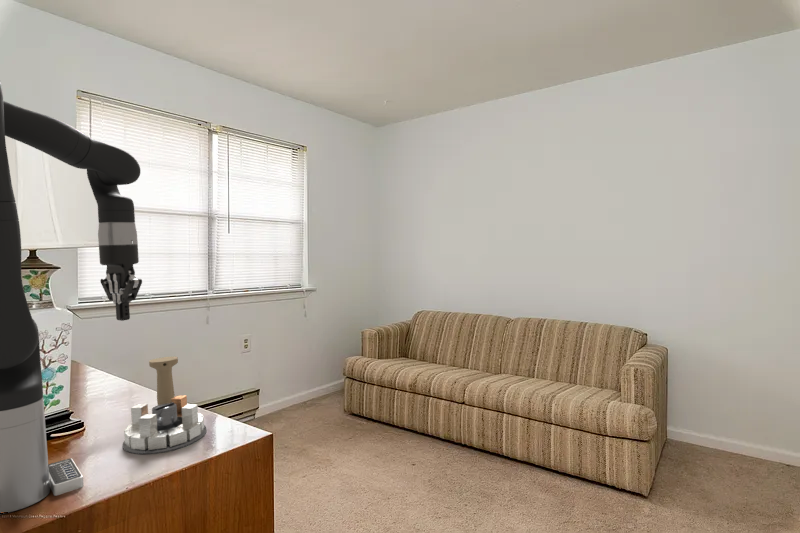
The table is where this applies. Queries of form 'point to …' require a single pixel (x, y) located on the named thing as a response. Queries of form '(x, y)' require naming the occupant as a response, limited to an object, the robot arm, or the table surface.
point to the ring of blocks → (165, 428)
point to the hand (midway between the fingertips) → (123, 319)
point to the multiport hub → (64, 476)
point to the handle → (164, 378)
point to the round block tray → (147, 436)
